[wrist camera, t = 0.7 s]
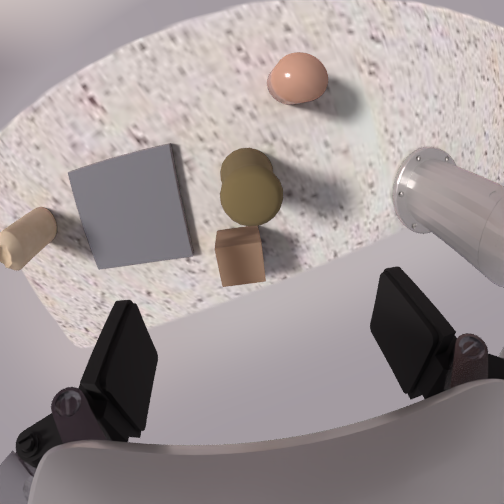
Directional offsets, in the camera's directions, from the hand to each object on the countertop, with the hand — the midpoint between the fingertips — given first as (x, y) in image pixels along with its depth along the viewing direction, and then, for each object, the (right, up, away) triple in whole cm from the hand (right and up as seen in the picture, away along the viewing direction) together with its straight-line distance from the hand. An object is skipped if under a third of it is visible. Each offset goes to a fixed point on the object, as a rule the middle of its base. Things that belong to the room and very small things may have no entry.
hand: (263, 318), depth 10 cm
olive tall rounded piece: (-1, +11, +21) cm, 24 cm away
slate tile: (-16, +8, +22) cm, 28 cm away
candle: (-31, +7, +22) cm, 38 cm away
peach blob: (+4, +21, +16) cm, 27 cm away
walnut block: (-2, +3, +25) cm, 26 cm away
